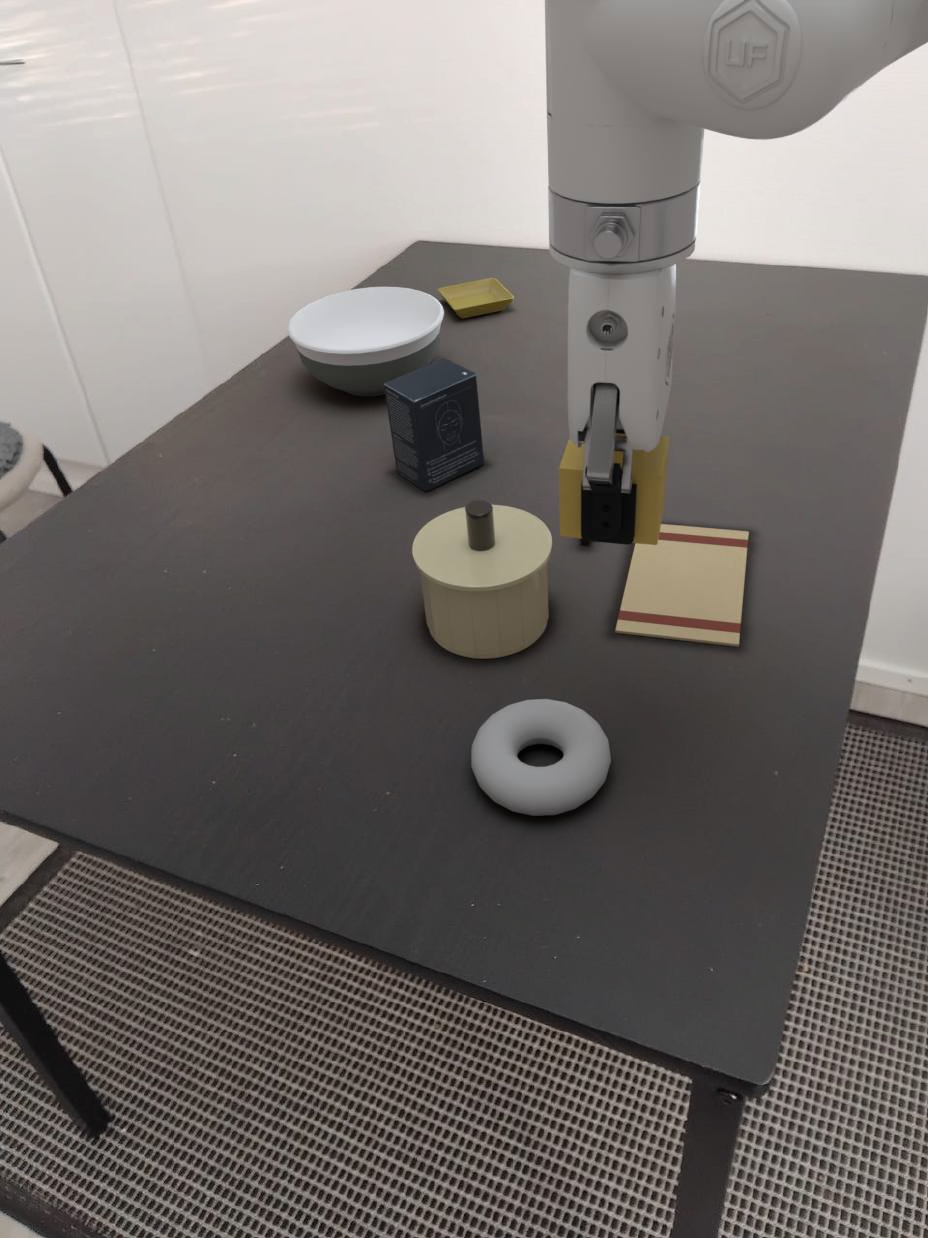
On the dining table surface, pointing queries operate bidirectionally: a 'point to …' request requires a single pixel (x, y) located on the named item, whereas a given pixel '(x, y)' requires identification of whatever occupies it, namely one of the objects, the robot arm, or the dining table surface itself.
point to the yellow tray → (477, 297)
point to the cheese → (646, 476)
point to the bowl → (367, 336)
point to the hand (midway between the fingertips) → (613, 513)
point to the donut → (540, 785)
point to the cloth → (687, 586)
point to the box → (435, 423)
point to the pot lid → (482, 547)
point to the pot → (487, 617)
